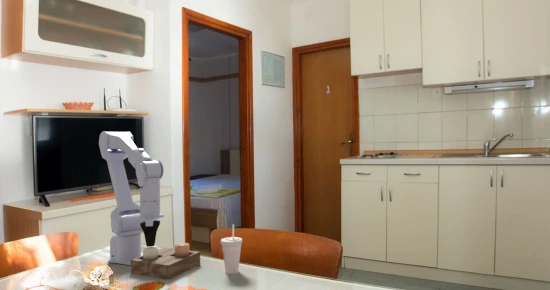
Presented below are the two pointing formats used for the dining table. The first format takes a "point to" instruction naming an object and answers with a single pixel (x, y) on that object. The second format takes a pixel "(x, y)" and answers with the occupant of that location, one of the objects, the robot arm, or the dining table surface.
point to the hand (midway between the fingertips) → (150, 245)
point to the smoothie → (231, 252)
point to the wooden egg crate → (165, 264)
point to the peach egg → (182, 250)
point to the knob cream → (150, 252)
